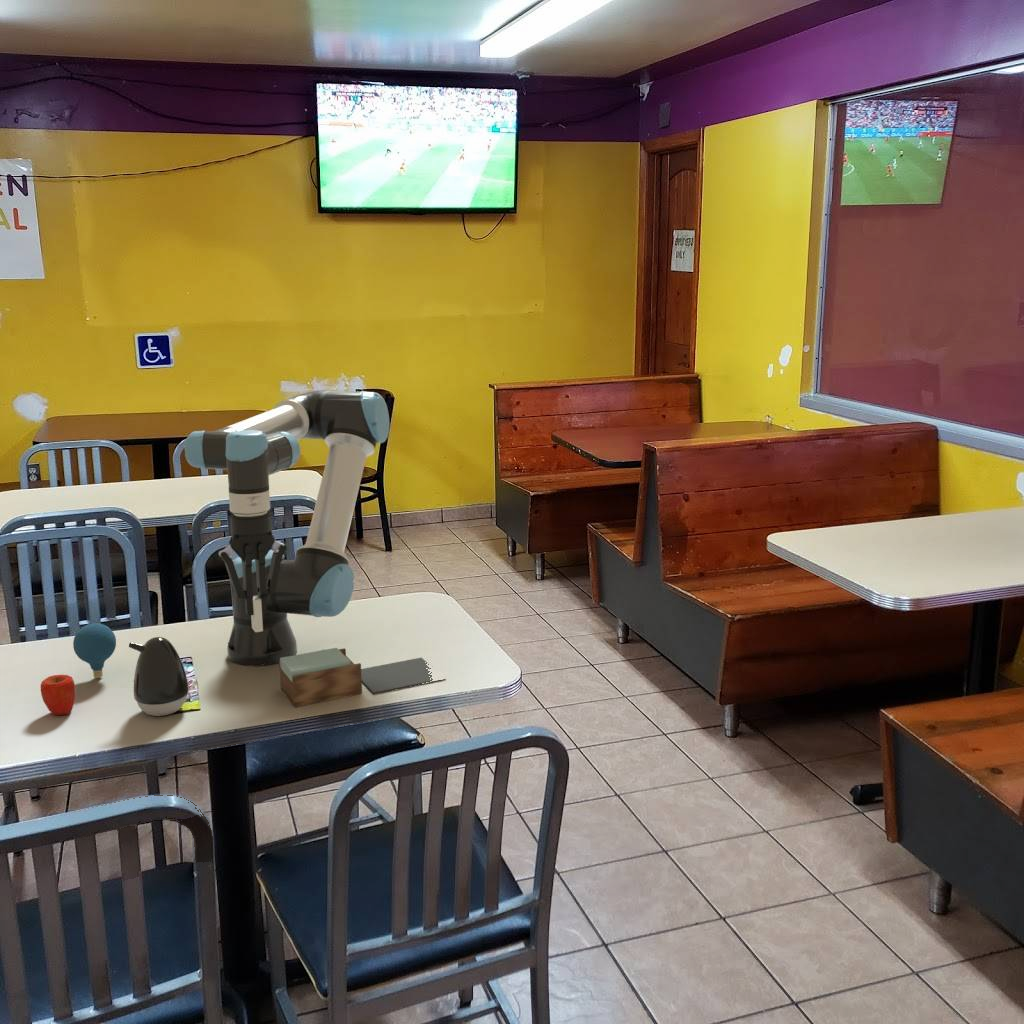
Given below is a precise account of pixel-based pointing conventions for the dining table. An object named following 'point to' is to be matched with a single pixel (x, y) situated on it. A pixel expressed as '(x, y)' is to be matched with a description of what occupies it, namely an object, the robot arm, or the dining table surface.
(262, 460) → the robot arm
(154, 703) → the pump dispenser
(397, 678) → the mat
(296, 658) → the lid
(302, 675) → the box
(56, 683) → the apple
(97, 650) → the light bulb
